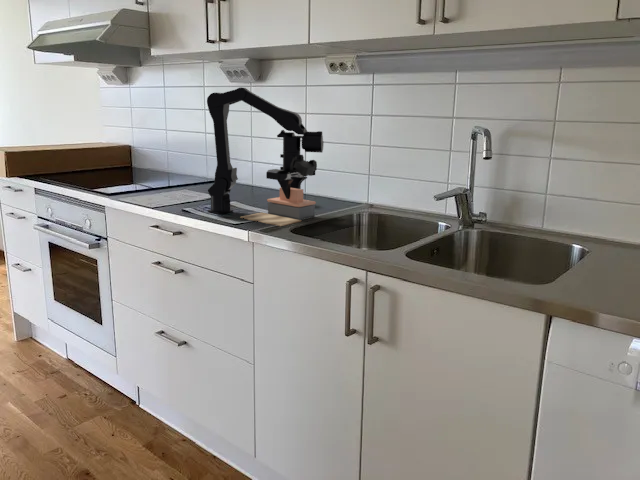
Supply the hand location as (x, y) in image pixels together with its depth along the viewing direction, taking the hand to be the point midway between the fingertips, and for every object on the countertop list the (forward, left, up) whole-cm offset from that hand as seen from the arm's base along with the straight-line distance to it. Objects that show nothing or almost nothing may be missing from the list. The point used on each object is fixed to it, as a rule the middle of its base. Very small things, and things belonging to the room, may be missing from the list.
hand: (291, 198), depth 186 cm
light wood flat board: (0, -10, -6) cm, 12 cm away
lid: (0, 0, -2) cm, 2 cm away
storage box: (0, 0, -6) cm, 6 cm away
